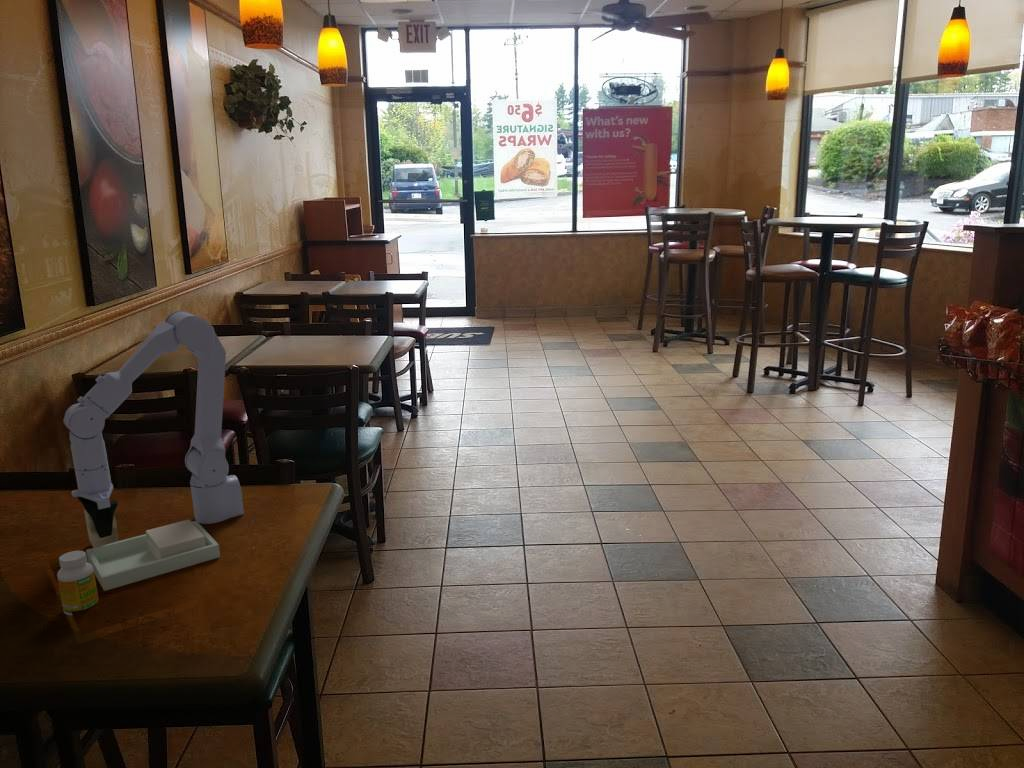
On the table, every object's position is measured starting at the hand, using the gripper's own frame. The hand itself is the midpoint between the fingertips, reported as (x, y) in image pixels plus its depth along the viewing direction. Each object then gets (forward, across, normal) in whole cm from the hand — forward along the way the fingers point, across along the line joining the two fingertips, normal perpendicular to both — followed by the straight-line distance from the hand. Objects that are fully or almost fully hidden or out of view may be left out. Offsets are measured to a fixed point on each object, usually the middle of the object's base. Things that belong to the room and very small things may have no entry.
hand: (102, 531), depth 158 cm
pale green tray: (+4, +13, +6) cm, 15 cm away
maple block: (+2, 0, 0) cm, 2 cm away
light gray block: (+3, +13, +10) cm, 17 cm away
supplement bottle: (+4, +22, -8) cm, 24 cm away
